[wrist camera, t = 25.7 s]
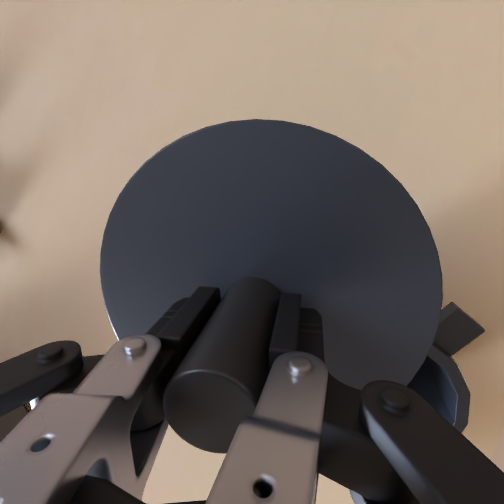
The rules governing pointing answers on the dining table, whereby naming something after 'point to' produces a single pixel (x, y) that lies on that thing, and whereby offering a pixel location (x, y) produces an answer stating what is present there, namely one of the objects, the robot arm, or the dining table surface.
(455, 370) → the pot
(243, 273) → the pot lid
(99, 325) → the dining table surface
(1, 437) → the rock
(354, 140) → the dining table surface
